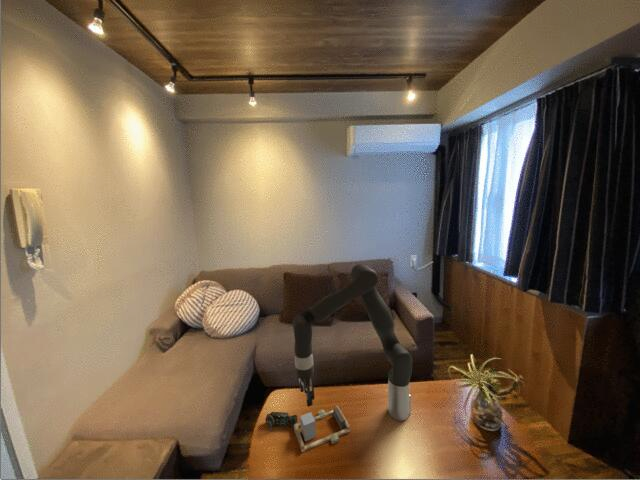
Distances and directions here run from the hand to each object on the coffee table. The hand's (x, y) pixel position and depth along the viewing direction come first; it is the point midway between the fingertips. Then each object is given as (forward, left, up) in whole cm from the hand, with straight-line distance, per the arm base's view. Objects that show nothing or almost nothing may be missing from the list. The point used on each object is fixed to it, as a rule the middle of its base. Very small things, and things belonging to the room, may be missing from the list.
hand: (306, 398), depth 106 cm
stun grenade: (+10, -9, -18) cm, 23 cm away
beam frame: (-6, 0, -18) cm, 19 cm away
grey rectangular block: (0, 0, -18) cm, 18 cm away
